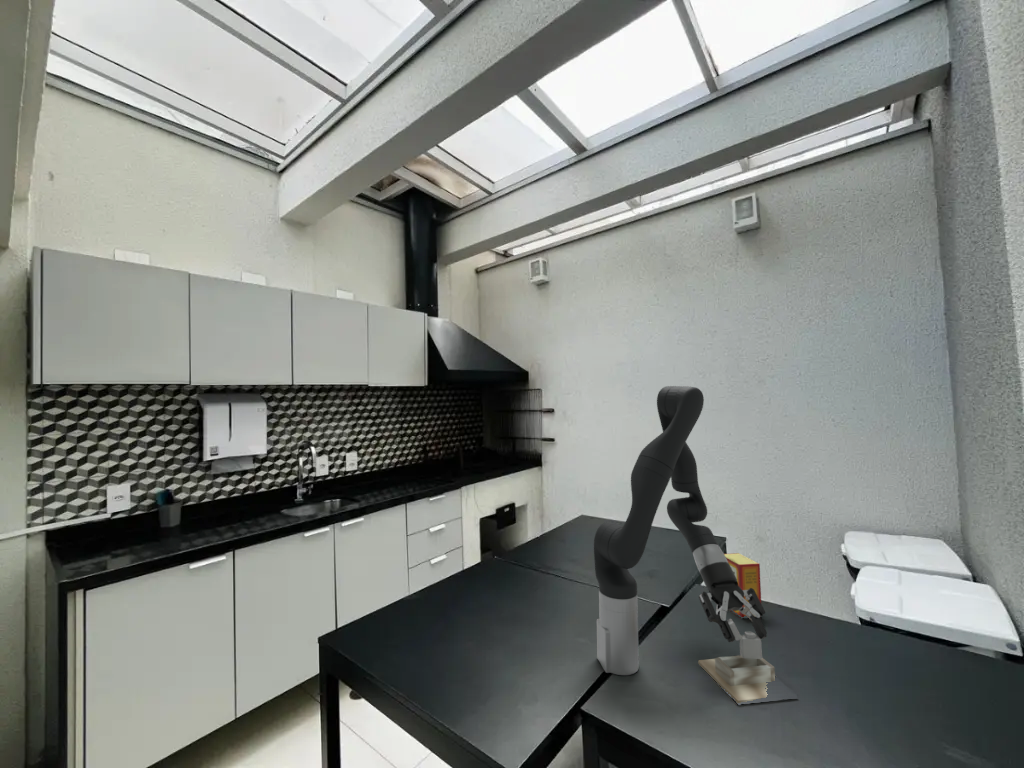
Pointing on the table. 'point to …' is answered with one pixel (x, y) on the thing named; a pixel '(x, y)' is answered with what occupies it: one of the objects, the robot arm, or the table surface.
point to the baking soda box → (745, 574)
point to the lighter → (747, 643)
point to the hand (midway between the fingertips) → (747, 639)
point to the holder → (740, 676)
